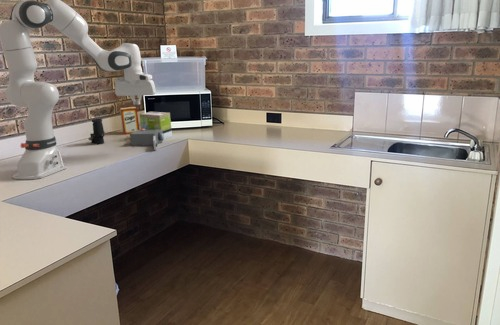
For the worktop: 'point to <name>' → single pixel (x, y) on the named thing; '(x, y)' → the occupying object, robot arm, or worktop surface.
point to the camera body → (146, 137)
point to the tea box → (157, 122)
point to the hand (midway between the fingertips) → (136, 104)
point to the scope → (97, 132)
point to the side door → (154, 142)
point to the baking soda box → (129, 120)
